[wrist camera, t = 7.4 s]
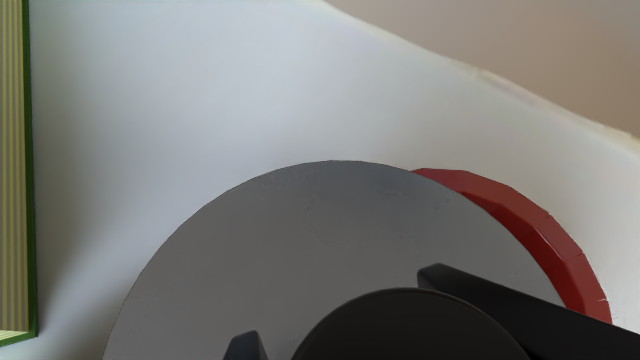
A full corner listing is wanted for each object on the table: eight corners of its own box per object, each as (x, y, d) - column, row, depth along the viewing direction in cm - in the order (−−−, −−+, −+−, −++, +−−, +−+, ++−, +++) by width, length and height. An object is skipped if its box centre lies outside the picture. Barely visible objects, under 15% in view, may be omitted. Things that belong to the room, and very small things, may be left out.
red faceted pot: (579, 364, 19) (688, 369, 14) (387, 528, 17) (427, 613, 11) (430, 177, 23) (469, 121, 17) (251, 291, 20) (230, 268, 15)
